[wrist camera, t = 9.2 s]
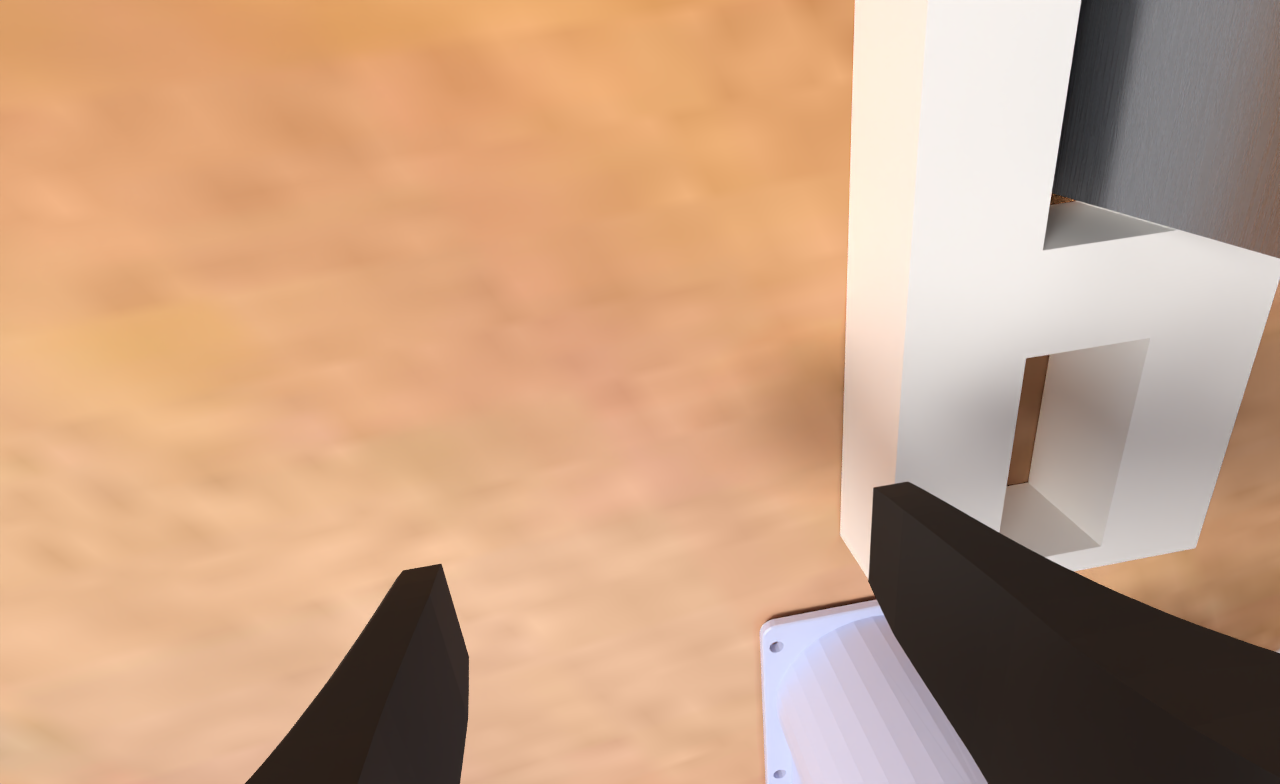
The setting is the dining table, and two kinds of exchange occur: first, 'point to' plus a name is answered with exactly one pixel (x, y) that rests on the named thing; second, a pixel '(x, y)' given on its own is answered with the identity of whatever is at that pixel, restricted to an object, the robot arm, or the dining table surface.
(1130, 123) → the gray rectangular block
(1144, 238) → the white board with holes
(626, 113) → the dining table surface
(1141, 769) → the robot arm
